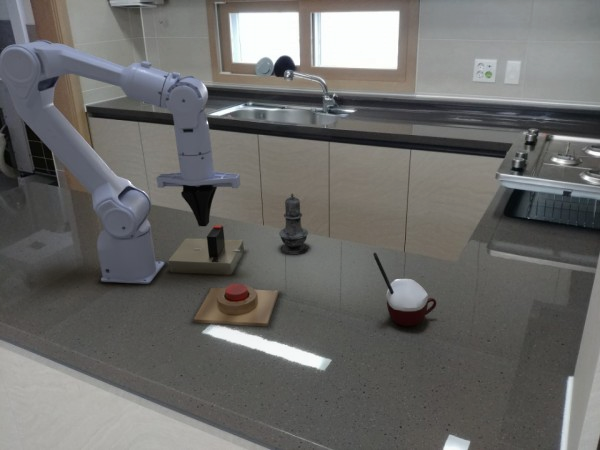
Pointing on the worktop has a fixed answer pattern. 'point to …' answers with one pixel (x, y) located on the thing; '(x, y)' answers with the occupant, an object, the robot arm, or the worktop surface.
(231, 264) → the panel
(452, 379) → the worktop surface
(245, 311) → the button block
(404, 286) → the cocoa
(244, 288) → the button
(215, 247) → the knob
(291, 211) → the salt shaker
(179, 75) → the robot arm
